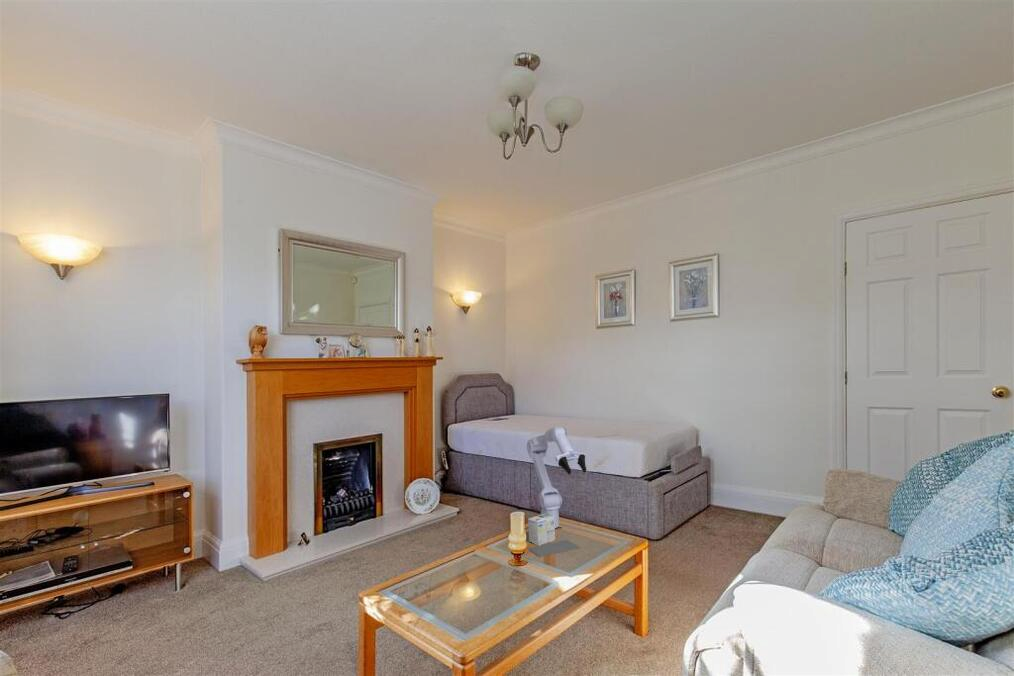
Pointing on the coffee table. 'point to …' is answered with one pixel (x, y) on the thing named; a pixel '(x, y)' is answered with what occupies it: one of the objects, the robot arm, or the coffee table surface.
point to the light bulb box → (541, 529)
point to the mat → (553, 548)
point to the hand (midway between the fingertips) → (577, 472)
